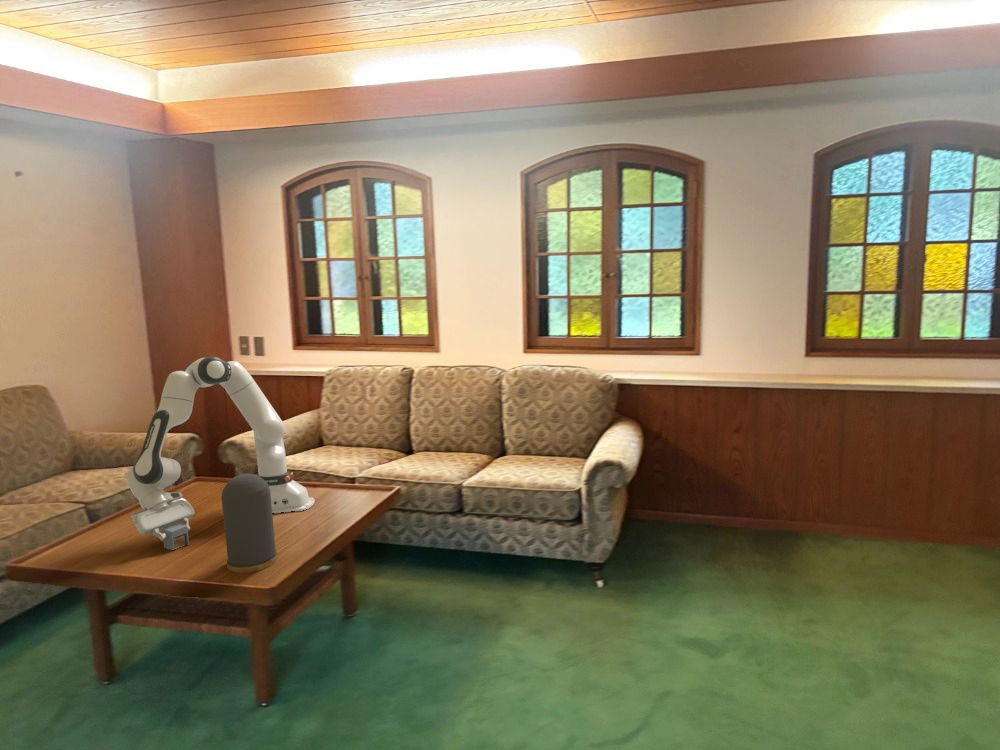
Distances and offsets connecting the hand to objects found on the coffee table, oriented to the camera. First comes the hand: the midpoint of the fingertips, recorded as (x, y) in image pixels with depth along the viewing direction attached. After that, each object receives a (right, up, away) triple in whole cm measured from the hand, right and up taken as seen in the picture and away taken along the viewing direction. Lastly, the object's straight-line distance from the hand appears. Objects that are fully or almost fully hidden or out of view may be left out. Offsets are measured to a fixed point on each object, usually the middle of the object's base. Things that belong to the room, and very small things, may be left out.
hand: (176, 534), depth 245 cm
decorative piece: (+32, -6, -15) cm, 36 cm away
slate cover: (0, -4, +1) cm, 4 cm away
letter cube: (0, -4, +1) cm, 5 cm away
